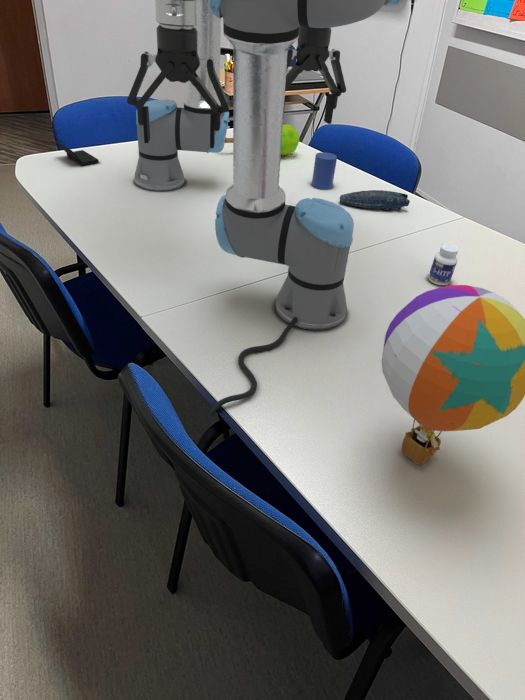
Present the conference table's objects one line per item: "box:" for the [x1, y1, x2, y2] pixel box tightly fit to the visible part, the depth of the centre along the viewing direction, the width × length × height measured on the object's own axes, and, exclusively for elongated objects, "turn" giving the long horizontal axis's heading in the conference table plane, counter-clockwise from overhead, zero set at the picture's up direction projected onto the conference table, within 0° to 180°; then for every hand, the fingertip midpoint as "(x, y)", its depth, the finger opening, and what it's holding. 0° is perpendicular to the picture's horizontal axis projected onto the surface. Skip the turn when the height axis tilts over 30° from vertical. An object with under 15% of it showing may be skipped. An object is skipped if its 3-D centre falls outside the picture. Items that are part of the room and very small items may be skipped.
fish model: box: [339, 189, 411, 211], centre depth 158 cm, size 7×21×5 cm, turn 84°
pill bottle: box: [427, 243, 459, 286], centre depth 124 cm, size 5×5×9 cm
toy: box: [381, 284, 525, 467], centre depth 73 cm, size 20×20×30 cm
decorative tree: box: [225, 124, 300, 156], centre depth 186 cm, size 18×10×30 cm
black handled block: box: [54, 140, 100, 166], centre depth 170 cm, size 12×7×10 cm
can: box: [311, 151, 338, 190], centre depth 168 cm, size 7×7×10 cm
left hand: (179, 143), depth 109 cm, fingers open, 13 cm apart
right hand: (303, 123), depth 132 cm, fingers open, 13 cm apart
